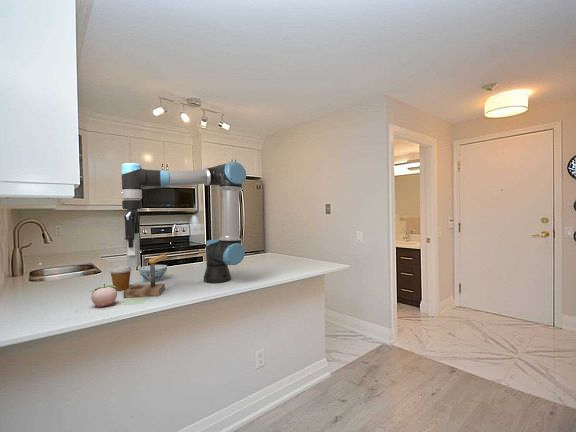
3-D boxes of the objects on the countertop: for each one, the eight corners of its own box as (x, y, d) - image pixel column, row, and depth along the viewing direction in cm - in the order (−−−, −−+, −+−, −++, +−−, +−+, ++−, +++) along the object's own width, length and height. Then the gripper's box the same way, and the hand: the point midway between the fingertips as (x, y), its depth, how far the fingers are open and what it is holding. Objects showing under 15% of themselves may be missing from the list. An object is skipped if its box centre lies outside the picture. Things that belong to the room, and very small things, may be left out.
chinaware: (165, 276, 184) (164, 263, 184) (169, 281, 171) (169, 267, 171) (137, 279, 176) (137, 266, 176) (140, 285, 164) (139, 270, 163)
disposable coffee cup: (122, 294, 146) (122, 269, 145) (105, 293, 148) (104, 269, 147) (136, 289, 155) (135, 265, 155) (120, 288, 157) (119, 265, 157)
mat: (149, 299, 136) (149, 297, 136) (143, 306, 127) (143, 303, 127) (127, 301, 135) (127, 298, 135) (120, 307, 126) (119, 305, 126)
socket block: (164, 291, 150) (164, 261, 150) (159, 298, 139) (158, 265, 138) (132, 293, 148) (131, 262, 147) (123, 300, 136) (122, 267, 135)
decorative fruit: (96, 313, 119) (95, 287, 119) (89, 309, 125) (88, 284, 124) (121, 307, 126) (120, 283, 126) (114, 303, 132) (113, 280, 132)
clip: (154, 263, 142) (153, 259, 142) (148, 263, 142) (147, 259, 142) (167, 258, 157) (167, 254, 157) (162, 258, 157) (162, 254, 157)
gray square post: (140, 265, 133) (139, 233, 133) (137, 266, 129) (136, 233, 129) (130, 265, 132) (129, 233, 132) (127, 267, 128) (126, 234, 128)
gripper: (129, 200, 138) (130, 252, 138) (115, 199, 121) (116, 257, 121) (146, 200, 139) (148, 251, 140) (135, 199, 122) (136, 257, 123)
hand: (133, 254), depth 131 cm, fingers closed on gray square post, 4 cm apart
